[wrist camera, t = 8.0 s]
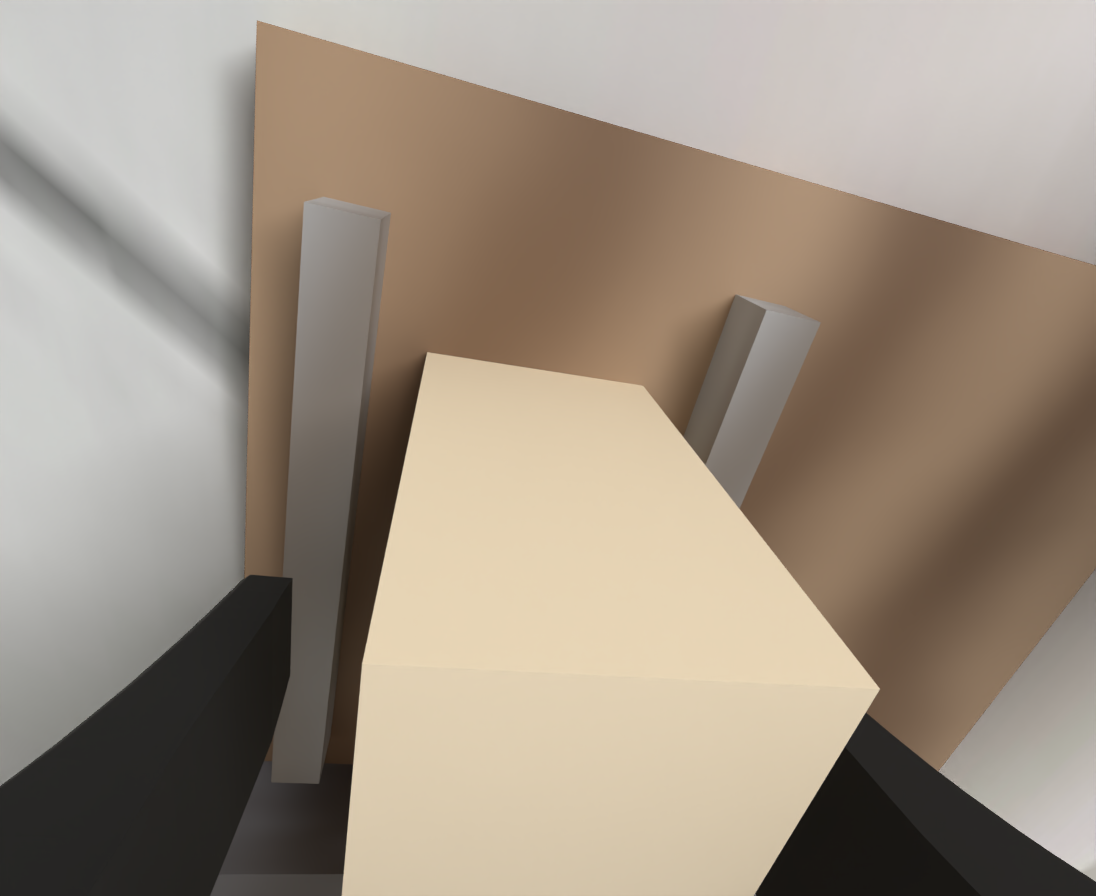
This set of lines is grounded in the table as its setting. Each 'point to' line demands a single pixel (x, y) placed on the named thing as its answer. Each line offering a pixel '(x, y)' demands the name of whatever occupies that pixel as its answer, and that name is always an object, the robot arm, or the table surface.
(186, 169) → the table surface
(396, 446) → the shelf
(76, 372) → the table surface
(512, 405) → the carton
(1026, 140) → the table surface
